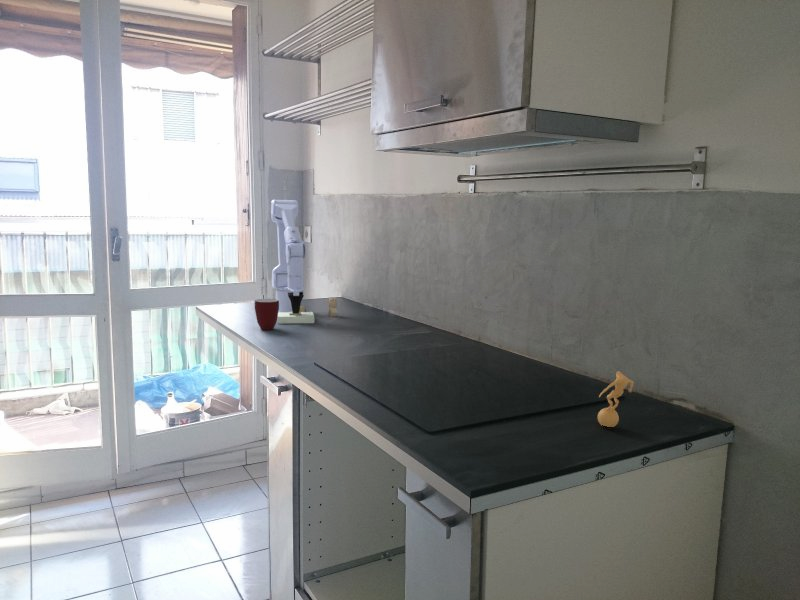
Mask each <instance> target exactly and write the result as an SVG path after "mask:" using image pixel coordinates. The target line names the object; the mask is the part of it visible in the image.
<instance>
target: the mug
mask: <svg viewBox="0 0 800 600" xmlns="http://www.w3.org/2000/svg"><path fill="white" fill-rule="evenodd" d="M254 311H255V316H256V317H255V318H256V322H257V324H258V326H259V327H260V330H262V331H272V330H274V329H275V327H276V325H277V323H278V311H279V300H277V299H276V298H259V299H255V300H254Z"/></svg>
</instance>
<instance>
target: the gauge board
mask: <svg viewBox="0 0 800 600" xmlns="http://www.w3.org/2000/svg"><path fill="white" fill-rule="evenodd" d="M277 324H287V325H288V324H315V315H314V312H313V311H307V312H306V311H305V312H301V315H292V312H278V317H277Z"/></svg>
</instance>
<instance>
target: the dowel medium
mask: <svg viewBox="0 0 800 600" xmlns="http://www.w3.org/2000/svg"><path fill="white" fill-rule="evenodd" d="M301 306H302V303H301V304H300V310H299V313H293V311H292V315H301Z"/></svg>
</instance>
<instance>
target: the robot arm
mask: <svg viewBox="0 0 800 600" xmlns="http://www.w3.org/2000/svg"><path fill="white" fill-rule="evenodd" d="M270 215H271V216H270V217H271V221H272V223H275V225H276V229H277V231H276V233H277V255H278V265H277V266H275V267H274V268H273V269H272V270H271V280H270V281H271V287H272V289H274V290H275V299H277V300H279V311H278V312H292V311H293V313H299V310H300V304H301V305H302V301H303V298H304V292H303V291H304V290H305V287H304V259H305V258H306V244H305V242H304V241H303V240H302V236H301V234H300V230H299V229H298V228H297V227H296V219H297V217H298V215H299V202H298V201H297V200H296V199H293V200H291V199H290V200H289V199H272V200H271V202H270Z"/></svg>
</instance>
